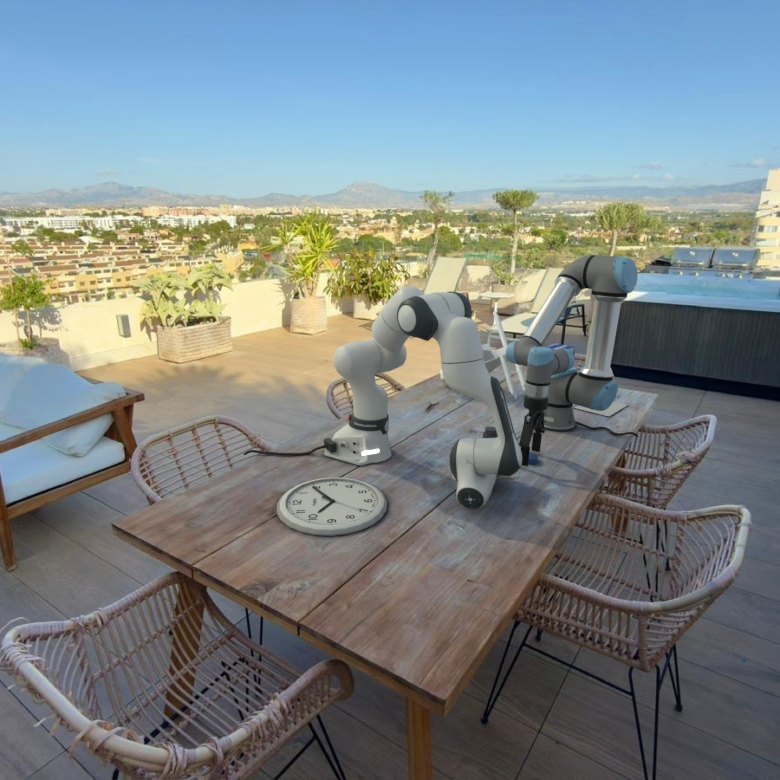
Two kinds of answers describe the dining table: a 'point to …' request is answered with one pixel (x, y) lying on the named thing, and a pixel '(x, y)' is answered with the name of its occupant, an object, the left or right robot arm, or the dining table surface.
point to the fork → (432, 403)
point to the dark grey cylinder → (490, 432)
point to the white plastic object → (499, 359)
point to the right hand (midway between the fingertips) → (529, 457)
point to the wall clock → (331, 506)
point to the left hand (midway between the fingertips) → (489, 454)
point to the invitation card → (609, 411)
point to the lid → (532, 458)
